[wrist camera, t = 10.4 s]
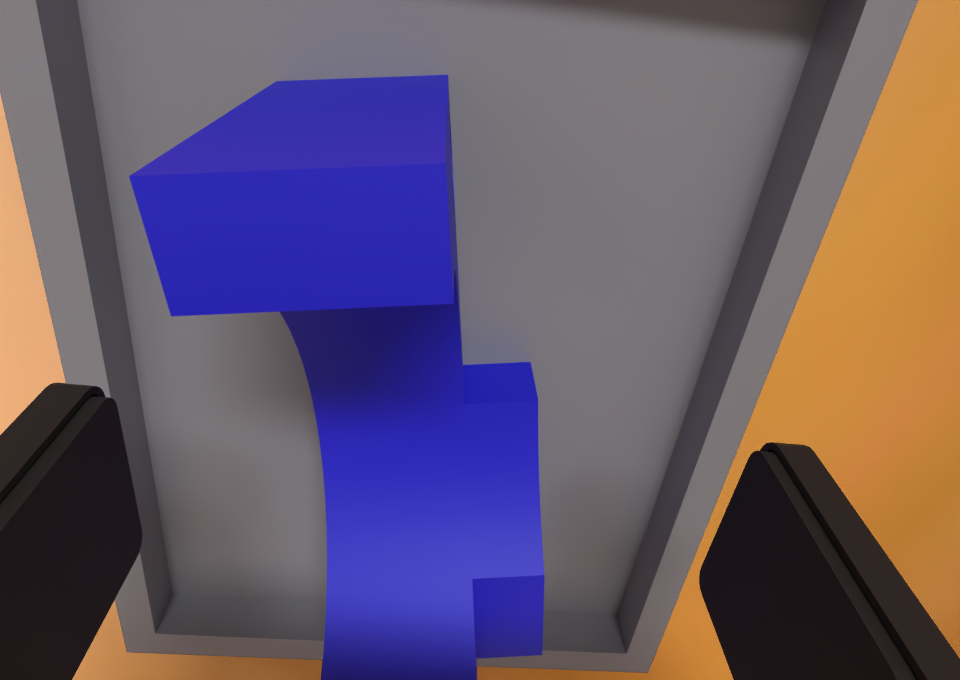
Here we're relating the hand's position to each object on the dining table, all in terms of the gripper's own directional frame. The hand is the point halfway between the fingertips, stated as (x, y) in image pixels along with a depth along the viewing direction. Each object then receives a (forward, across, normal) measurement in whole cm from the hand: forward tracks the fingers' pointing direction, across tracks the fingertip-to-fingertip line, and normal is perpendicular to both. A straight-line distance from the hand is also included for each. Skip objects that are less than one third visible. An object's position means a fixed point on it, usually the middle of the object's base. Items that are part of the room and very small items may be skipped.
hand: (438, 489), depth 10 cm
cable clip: (+5, 0, +1) cm, 5 cm away
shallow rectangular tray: (+6, 0, +1) cm, 6 cm away
